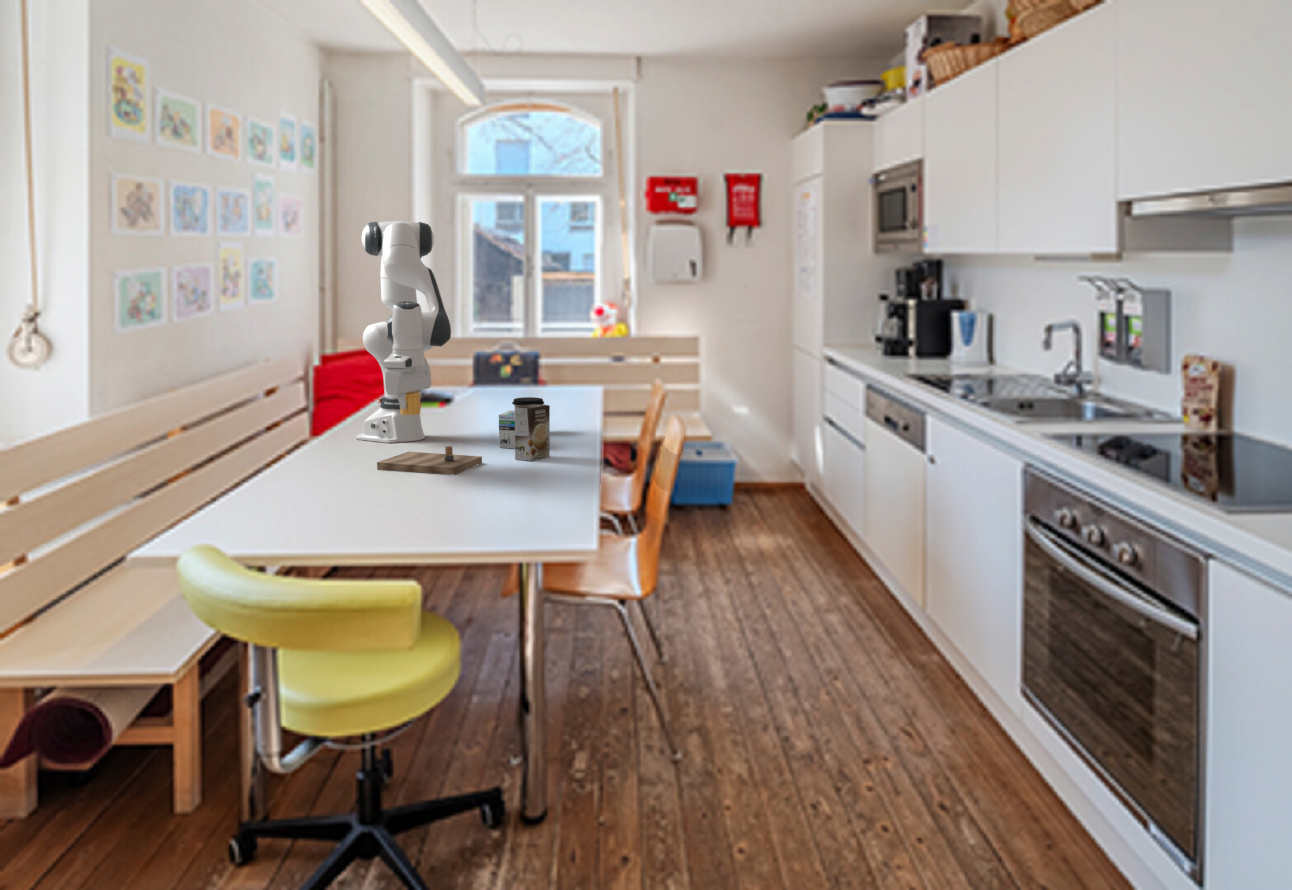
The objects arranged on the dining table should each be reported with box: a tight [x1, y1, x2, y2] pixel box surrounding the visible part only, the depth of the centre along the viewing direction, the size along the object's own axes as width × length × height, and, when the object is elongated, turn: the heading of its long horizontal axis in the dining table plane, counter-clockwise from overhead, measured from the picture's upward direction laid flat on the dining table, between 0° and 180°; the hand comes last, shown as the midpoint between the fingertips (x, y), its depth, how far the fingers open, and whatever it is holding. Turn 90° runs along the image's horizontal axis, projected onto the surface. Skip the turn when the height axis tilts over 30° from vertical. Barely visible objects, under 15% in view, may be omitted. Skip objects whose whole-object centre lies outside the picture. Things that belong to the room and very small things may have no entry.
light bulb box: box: [498, 410, 515, 449], centre depth 329 cm, size 11×7×11 cm, turn 168°
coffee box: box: [514, 404, 551, 462], centre depth 308 cm, size 9×6×16 cm
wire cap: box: [400, 392, 421, 415], centre depth 294 cm, size 6×6×6 cm
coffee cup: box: [512, 396, 545, 407], centre depth 353 cm, size 11×11×12 cm
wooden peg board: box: [376, 445, 483, 475], centre depth 295 cm, size 24×18×6 cm
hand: (410, 407), depth 295 cm, fingers closed on wire cap, 6 cm apart
